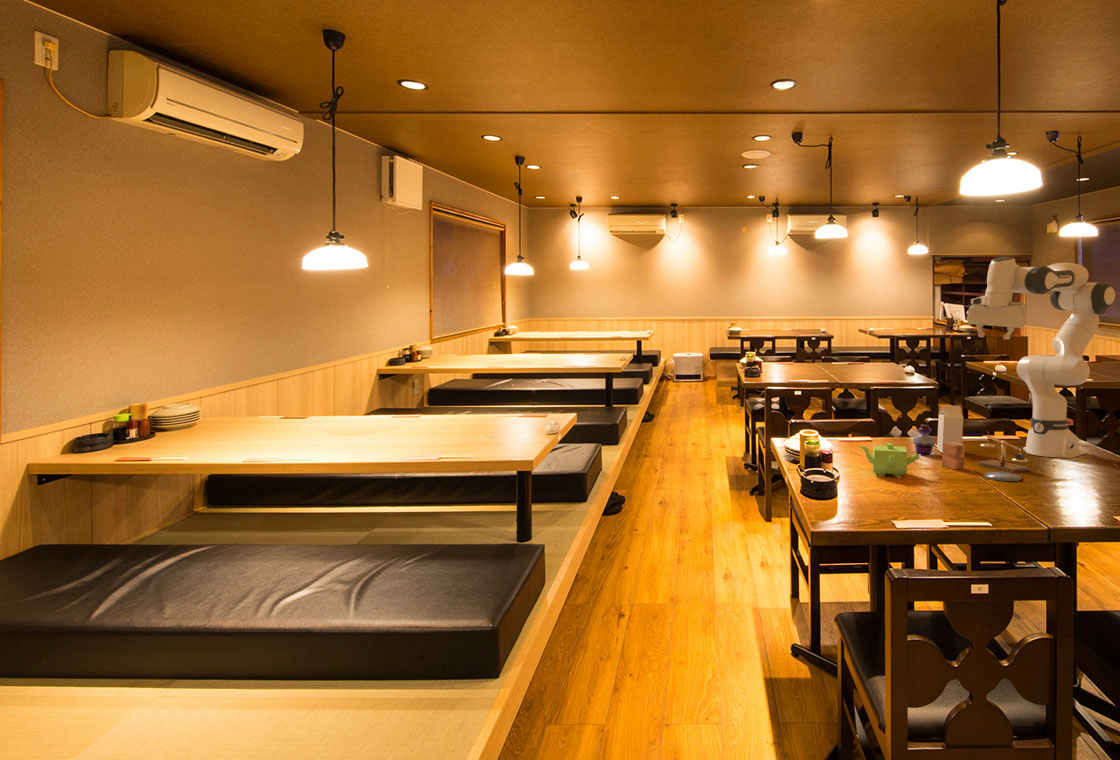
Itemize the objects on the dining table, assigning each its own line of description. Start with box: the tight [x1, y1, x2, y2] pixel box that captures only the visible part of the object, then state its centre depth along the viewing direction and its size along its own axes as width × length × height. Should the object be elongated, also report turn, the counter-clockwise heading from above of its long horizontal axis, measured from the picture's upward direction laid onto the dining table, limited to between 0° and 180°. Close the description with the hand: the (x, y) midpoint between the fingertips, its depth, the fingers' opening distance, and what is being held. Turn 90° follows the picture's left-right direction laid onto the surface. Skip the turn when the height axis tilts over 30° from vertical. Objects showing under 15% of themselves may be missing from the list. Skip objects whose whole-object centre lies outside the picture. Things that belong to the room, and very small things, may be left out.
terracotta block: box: [941, 442, 965, 470], centre depth 269 cm, size 5×5×9 cm
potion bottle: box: [912, 424, 937, 456], centre depth 292 cm, size 9×9×12 cm
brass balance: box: [977, 435, 1029, 473], centre depth 268 cm, size 8×18×11 cm, turn 23°
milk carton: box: [936, 405, 964, 454], centre depth 295 cm, size 7×7×19 cm
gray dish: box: [984, 471, 1022, 483], centre depth 254 cm, size 11×11×1 cm
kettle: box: [858, 442, 920, 478], centre depth 261 cm, size 15×14×11 cm
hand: (993, 338), depth 273 cm, fingers open, 8 cm apart
